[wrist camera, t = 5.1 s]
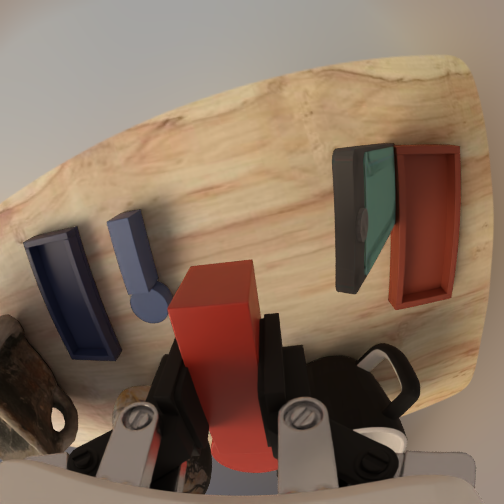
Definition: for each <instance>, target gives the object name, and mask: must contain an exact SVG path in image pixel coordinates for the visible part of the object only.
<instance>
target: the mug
mask: <svg viewBox="0 0 504 504" xmlns="http://www.w3.org/2000/svg"><path fill="white" fill-rule="evenodd" d="M385 358H387V359H388V360H389V362H390V363H391V365H392V367H393V369H394V371H395V373H396V375H397V377H398V379H399V382H400V385H401V393H400V394H399V395H398V396H397V397H396V398H395V399H394V400H393V401H392V402H391V401H390V400H389V398H388V397H387V395H386V394H385V392H384V390H383V389H382V387H381V386H380V384H379V383H378V381H377V380H376V379H375V378H374V376H373V375H372V374H371V372H370V371H371V370H372V369H373V368H374V367H375V366H377V365H378V364H379V363H380V362H381V361H382V360H383V359H385ZM306 367H307V373H308V380H309V386H310V392H311V398H315V399H317V400H319V401H321V402H322V403H323V404H324V405H325V406H326V408H327V411H328V416H329V418H330V419H332V420H334V421H336V422H338V423H340V424H342V425H344V426H346V427H348V428H350V429H352V430H354V431H356V432H358V433H360V434H362V435H364V436H366V437H368V438H370V439H372V440H375V441H377V442H379V443H381V444H383V445H386V446H388V447H389V448H391V449H392V450H394V452H395V453H404V450H405V449H406V446H407V437H406V434H405V432H404V429H403V426H402V424H401V421H400V419H399V417H400V416H402V415H403V414H404V413H405V412H406V411H407V410H408V409H409V408H410V407H411V406H412V405H413V404H414V403H415V402H416V401H417V400H418V398H419V396H420V383H419V380H418V378H417V375H416V373H415V372H414V370H413V368H412V366H411V364H410V363H409V361H408V359H407V358H406V356H405V355H404V354H403V353H402V352H401V351H400V350H399V349H398V348H396V347H394V346H392V345H389V344H385V343H380V344H376V345H374V346H373V347H371V348H370V349H369V350H368V351H367V352H366V353H365V354H364V355H363V356H362V357H361V358H359V359H358V360H355V359H353V358H350V357H347V356H329V357H324V358H320V359H318V360H315V361H313V362H311V363H309V364H307V365H306ZM277 477H278V469H277Z"/></svg>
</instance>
